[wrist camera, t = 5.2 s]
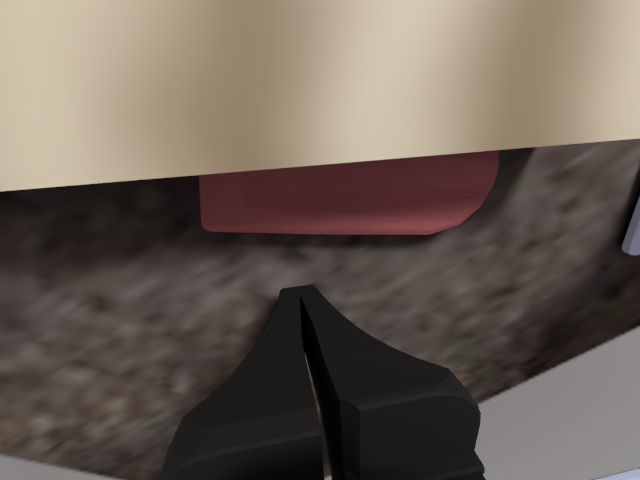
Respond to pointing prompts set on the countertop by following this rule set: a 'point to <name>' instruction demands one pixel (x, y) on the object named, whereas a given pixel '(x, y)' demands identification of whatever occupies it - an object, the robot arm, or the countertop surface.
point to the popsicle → (351, 196)
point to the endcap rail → (302, 83)
